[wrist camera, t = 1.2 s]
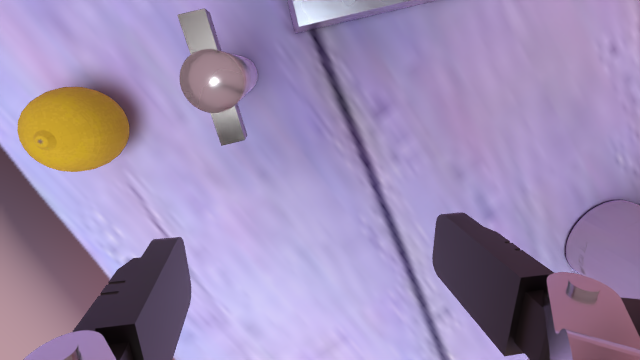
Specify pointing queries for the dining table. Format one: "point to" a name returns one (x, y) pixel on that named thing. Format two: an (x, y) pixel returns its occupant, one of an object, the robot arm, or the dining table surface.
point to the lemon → (73, 129)
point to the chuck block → (340, 11)
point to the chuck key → (215, 76)
